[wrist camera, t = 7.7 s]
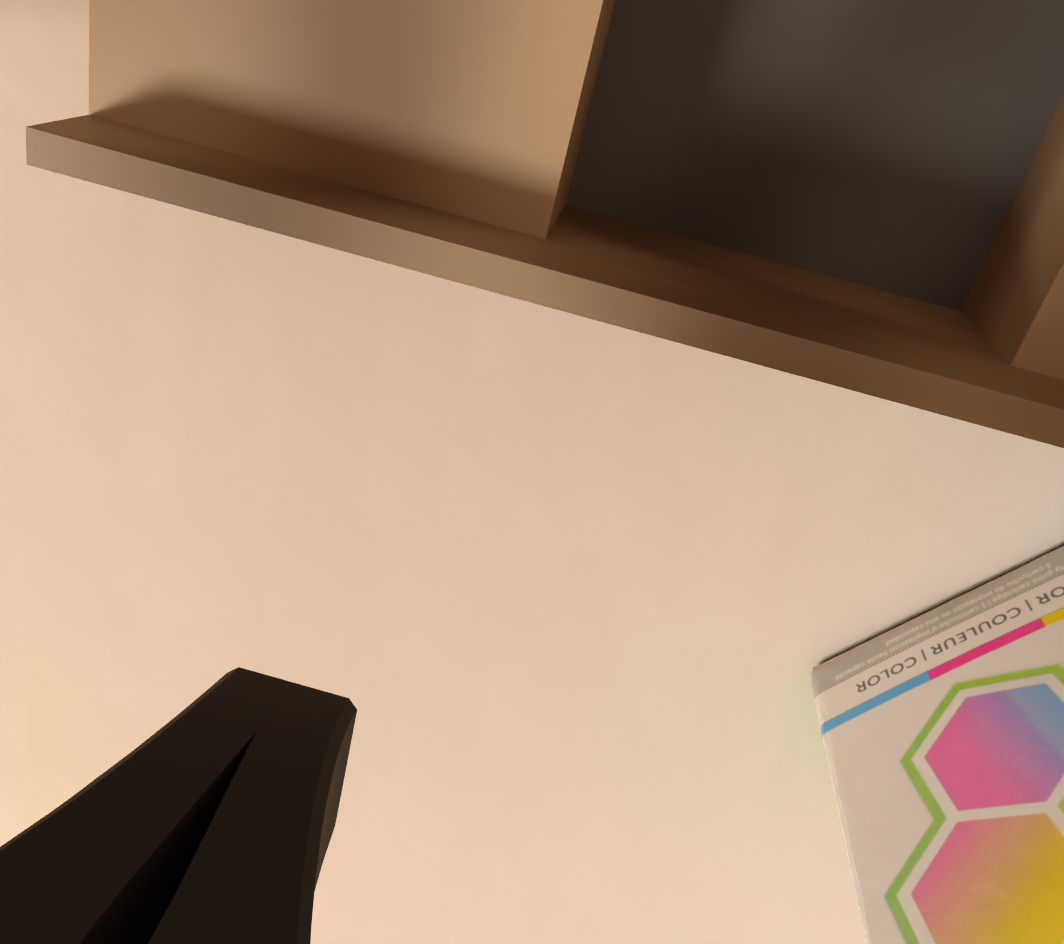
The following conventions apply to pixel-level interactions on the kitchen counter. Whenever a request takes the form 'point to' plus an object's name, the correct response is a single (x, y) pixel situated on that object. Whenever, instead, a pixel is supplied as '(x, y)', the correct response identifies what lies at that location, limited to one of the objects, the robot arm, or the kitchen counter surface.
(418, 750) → the kitchen counter surface
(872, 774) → the ink box
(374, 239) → the box
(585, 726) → the kitchen counter surface
